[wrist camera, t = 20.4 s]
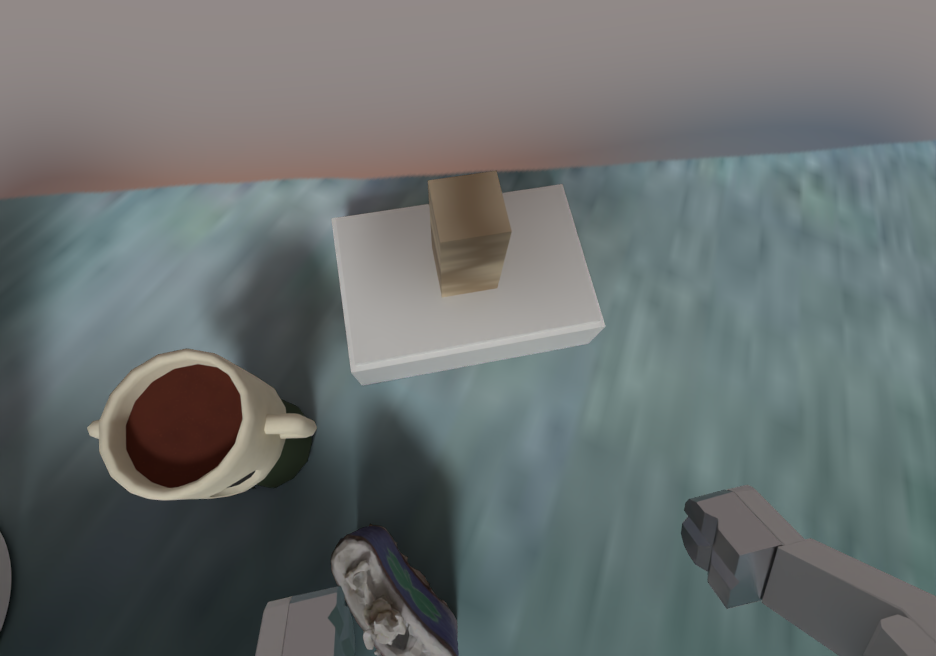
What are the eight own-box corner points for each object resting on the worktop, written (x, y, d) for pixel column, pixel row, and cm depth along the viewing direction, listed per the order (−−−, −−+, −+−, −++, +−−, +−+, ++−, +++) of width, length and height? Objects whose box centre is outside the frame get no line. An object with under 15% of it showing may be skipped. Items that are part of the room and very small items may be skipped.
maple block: (441, 297, 34) (440, 242, 26) (431, 247, 35) (427, 180, 27) (497, 288, 34) (511, 231, 26) (485, 238, 35) (496, 170, 28)
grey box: (362, 385, 36) (349, 370, 32) (343, 246, 40) (329, 214, 35) (588, 343, 38) (608, 323, 33) (550, 214, 42) (564, 179, 37)
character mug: (187, 498, 33) (35, 505, 21) (201, 396, 36) (71, 349, 23) (344, 492, 34) (286, 496, 22) (349, 393, 36) (298, 345, 24)
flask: (465, 625, 32) (473, 691, 22) (431, 660, 31) (423, 745, 21) (377, 514, 34) (346, 527, 24) (344, 545, 33) (297, 571, 23)
